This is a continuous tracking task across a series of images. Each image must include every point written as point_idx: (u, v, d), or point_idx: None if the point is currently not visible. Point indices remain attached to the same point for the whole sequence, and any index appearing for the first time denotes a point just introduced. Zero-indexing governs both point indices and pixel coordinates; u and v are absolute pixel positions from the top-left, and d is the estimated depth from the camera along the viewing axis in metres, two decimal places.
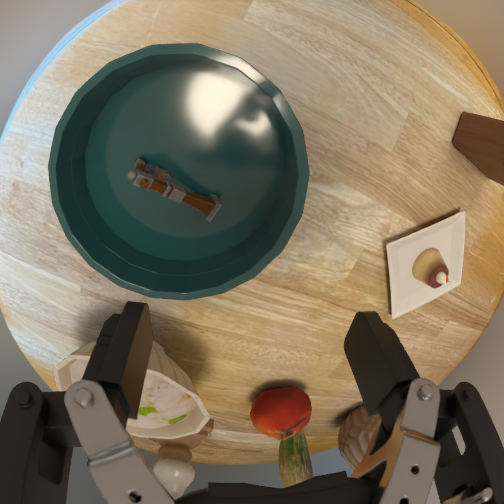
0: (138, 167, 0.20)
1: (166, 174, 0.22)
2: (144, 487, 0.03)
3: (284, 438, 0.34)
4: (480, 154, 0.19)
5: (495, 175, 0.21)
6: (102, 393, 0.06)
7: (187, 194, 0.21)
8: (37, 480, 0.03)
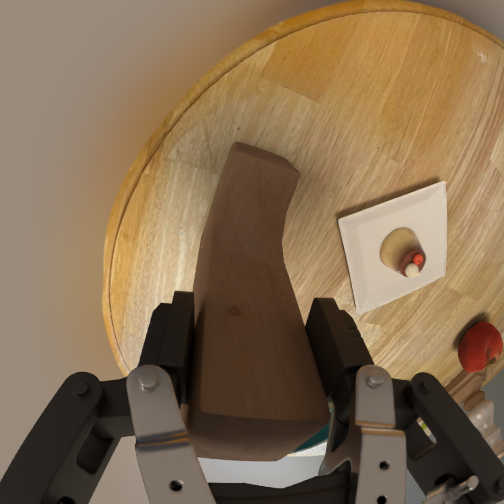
0: None
1: None
2: (188, 478, 0.04)
3: (495, 361, 0.29)
4: None
5: None
6: (167, 376, 0.07)
7: None
8: (72, 469, 0.04)
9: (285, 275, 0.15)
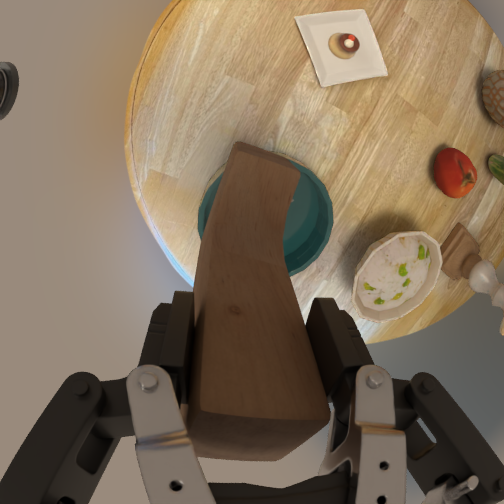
0: None
1: None
2: (188, 478, 0.04)
3: (473, 180, 0.36)
4: None
5: None
6: (167, 376, 0.07)
7: None
8: (72, 469, 0.04)
9: (286, 274, 0.15)
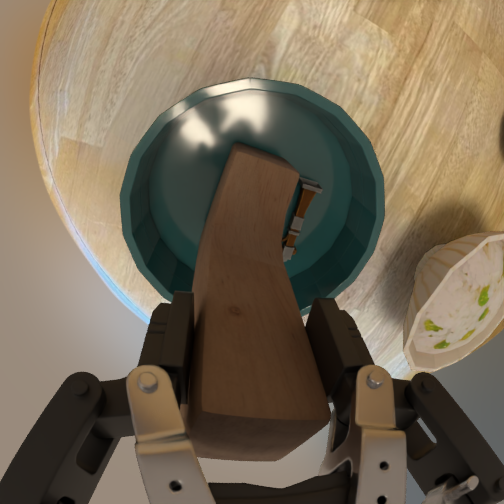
0: None
1: None
2: (188, 478, 0.04)
3: None
4: None
5: None
6: (166, 376, 0.07)
7: (302, 215, 0.24)
8: (72, 469, 0.04)
9: (285, 275, 0.15)
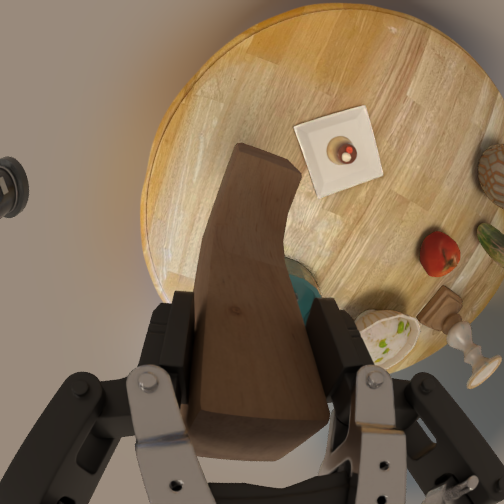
0: None
1: None
2: (188, 478, 0.04)
3: (454, 264, 0.43)
4: None
5: None
6: (167, 376, 0.07)
7: None
8: (72, 469, 0.04)
9: (286, 275, 0.15)
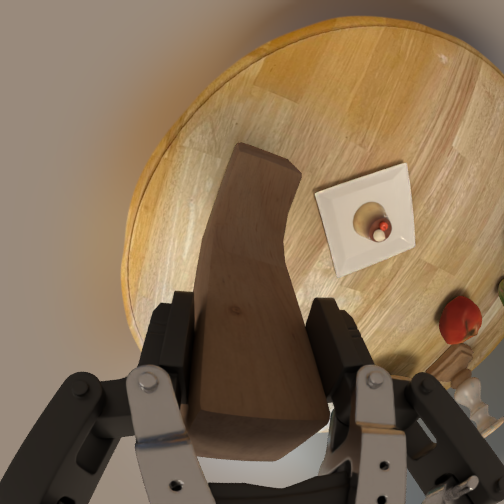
0: None
1: None
2: (188, 478, 0.04)
3: (475, 333, 0.35)
4: None
5: None
6: (166, 376, 0.07)
7: None
8: (72, 469, 0.04)
9: (286, 275, 0.15)
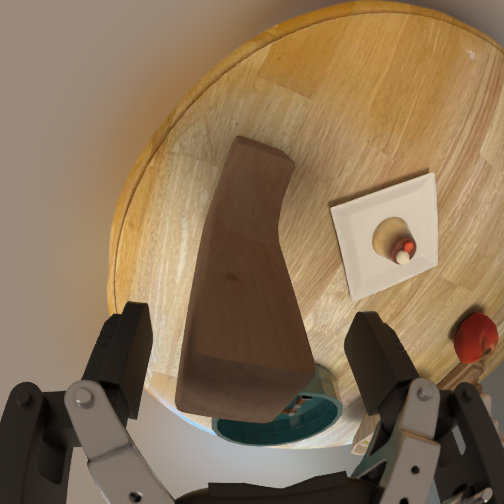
0: (281, 412, 0.42)
1: None
2: (144, 487, 0.03)
3: (491, 352, 0.31)
4: None
5: None
6: (102, 393, 0.06)
7: (300, 403, 0.40)
8: (37, 480, 0.03)
9: (280, 253, 0.16)
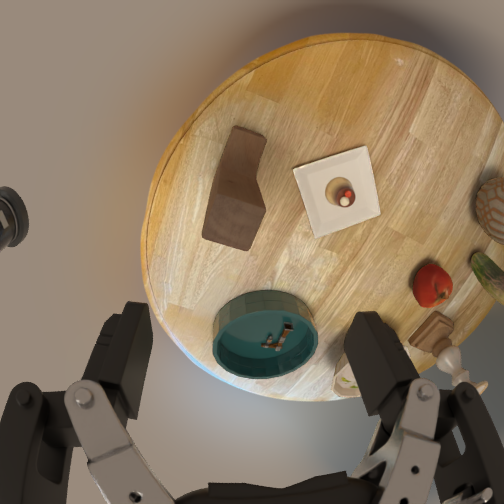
0: (269, 347, 0.56)
1: (271, 340, 0.54)
2: (144, 487, 0.03)
3: (446, 297, 0.45)
4: None
5: None
6: (102, 393, 0.06)
7: (285, 336, 0.54)
8: (37, 480, 0.03)
9: (255, 181, 0.30)
